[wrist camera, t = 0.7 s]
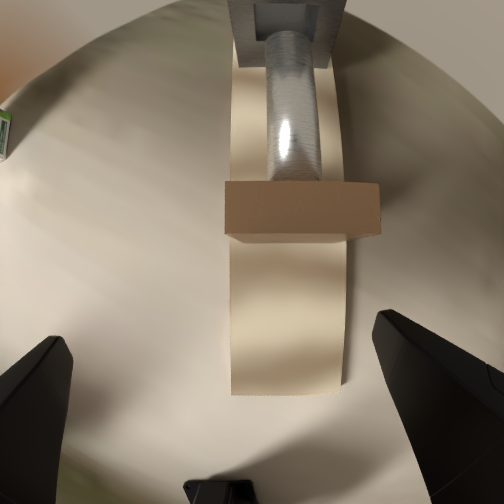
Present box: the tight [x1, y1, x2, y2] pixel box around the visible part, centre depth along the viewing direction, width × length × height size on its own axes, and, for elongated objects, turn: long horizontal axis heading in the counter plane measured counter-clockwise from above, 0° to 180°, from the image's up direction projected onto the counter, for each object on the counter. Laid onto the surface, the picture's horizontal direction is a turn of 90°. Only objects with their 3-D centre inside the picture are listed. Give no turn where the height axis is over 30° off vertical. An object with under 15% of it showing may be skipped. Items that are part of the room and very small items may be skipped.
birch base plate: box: [230, 42, 346, 396], centre depth 21 cm, size 30×8×1 cm, turn 0°
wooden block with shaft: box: [225, 31, 381, 244], centre depth 16 cm, size 12×6×9 cm, turn 0°
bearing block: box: [227, 0, 347, 69], centre depth 17 cm, size 5×7×9 cm
